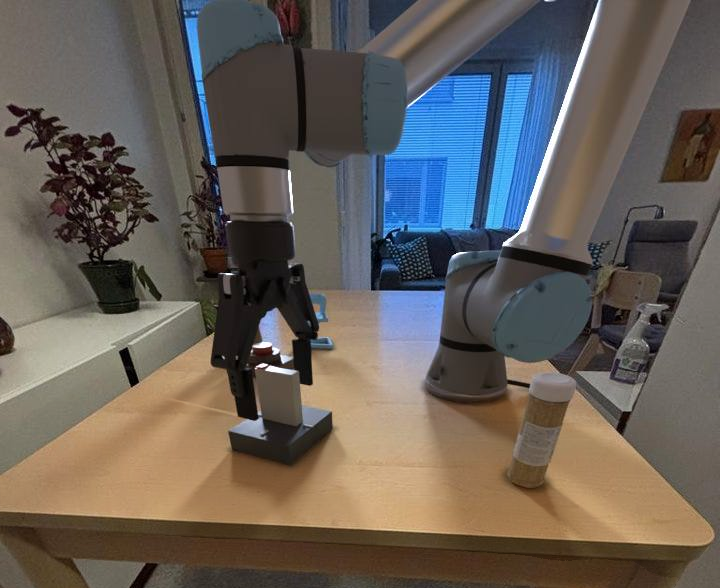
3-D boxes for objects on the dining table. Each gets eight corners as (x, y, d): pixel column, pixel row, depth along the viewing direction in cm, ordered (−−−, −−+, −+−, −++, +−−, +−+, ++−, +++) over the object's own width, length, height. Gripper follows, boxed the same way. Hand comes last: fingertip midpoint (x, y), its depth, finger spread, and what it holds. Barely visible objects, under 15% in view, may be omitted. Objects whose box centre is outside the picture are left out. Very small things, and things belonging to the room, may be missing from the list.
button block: (296, 367, 86) (294, 348, 84) (272, 380, 79) (270, 360, 77) (259, 361, 89) (256, 343, 87) (233, 373, 83) (229, 354, 80)
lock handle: (303, 421, 57) (298, 369, 53) (296, 426, 56) (291, 373, 51) (269, 414, 59) (262, 362, 55) (261, 418, 58) (254, 366, 53)
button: (276, 352, 83) (275, 343, 82) (265, 357, 80) (264, 348, 79) (261, 349, 85) (260, 341, 84) (249, 354, 82) (248, 346, 81)
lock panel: (333, 428, 62) (332, 410, 60) (291, 465, 53) (289, 445, 51) (279, 416, 65) (277, 398, 64) (231, 449, 56) (227, 429, 55)
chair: (297, 342, 103) (293, 291, 96) (329, 340, 104) (327, 290, 97) (299, 350, 96) (295, 297, 90) (333, 348, 98) (331, 296, 91)
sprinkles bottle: (516, 466, 53) (542, 367, 46) (549, 479, 51) (584, 377, 43) (500, 479, 50) (525, 377, 43) (535, 494, 48) (569, 388, 40)
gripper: (292, 217, 54) (302, 369, 66) (140, 218, 35) (193, 430, 47) (340, 218, 52) (342, 376, 64) (204, 220, 33) (243, 443, 45)
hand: (278, 399), depth 56 cm, fingers open, 13 cm apart
